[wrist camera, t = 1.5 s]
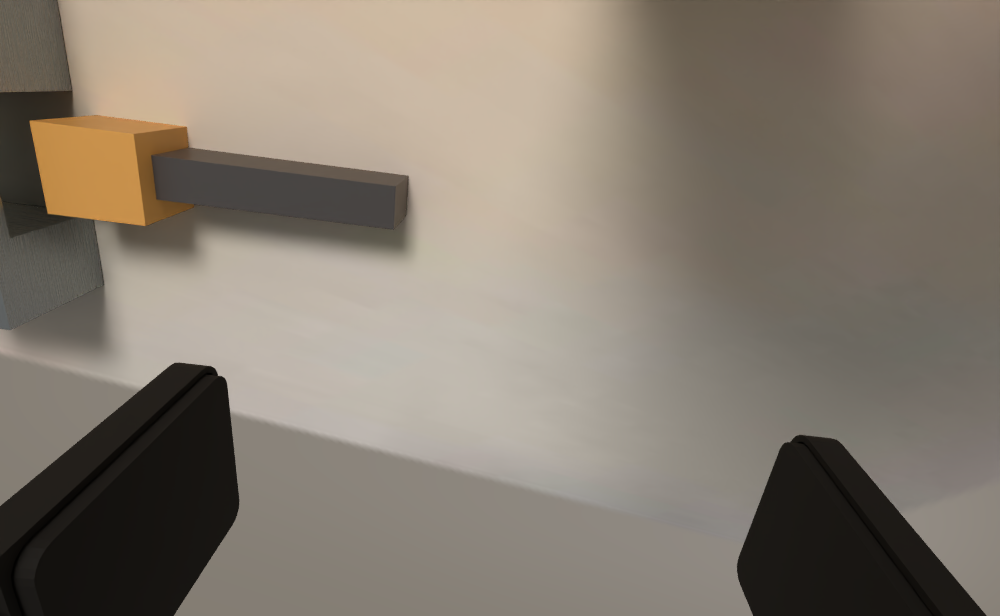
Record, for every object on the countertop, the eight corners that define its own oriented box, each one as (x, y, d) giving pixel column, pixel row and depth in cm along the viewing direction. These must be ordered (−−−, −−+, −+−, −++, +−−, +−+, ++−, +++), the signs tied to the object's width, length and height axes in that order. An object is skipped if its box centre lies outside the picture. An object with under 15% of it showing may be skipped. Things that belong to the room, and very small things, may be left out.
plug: (72, 111, 27) (0, 117, 23) (409, 155, 27) (391, 166, 23) (85, 193, 28) (20, 210, 25) (405, 233, 29) (388, 256, 25)
